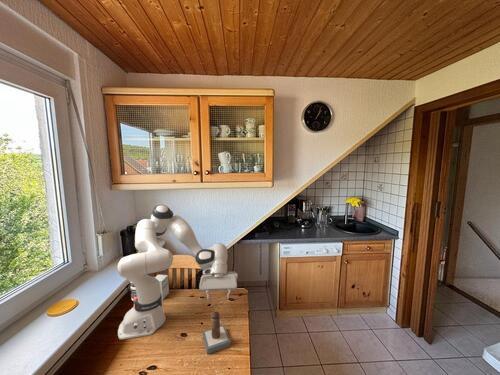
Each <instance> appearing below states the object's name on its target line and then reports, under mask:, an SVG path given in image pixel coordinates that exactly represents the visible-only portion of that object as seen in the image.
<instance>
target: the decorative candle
mask: <svg viewBox="0 0 500 375" xmlns="http://www.w3.org/2000/svg"><path fill="white" fill-rule="evenodd" d="M129 282H130V298H131V299H130V300H131V301H133V299H134V297H137V292H136V288H135V286H134V284H133V283H132V282H131V281H130V280H129Z"/></svg>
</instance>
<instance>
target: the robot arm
mask: <svg viewBox="0 0 500 375" xmlns="http://www.w3.org/2000/svg"><path fill="white" fill-rule="evenodd" d="M167 230H169V231H170V232H171V233H172V235H173V236H174V237H175V239H177V240H178V241H179V242H180V243H181V244H182V245H184V246H185V247H186V248H187V249H189V251H191V253H192V254H193V255H194V257H195V262H196V263H197V265H198V267H199V268H200V269H201V271H202V275H201V277H200V280H199V285H198V286H199V287H198V288H199V291H200V292H205V293H206V298H207V301H210V300H211V295H209V294H210V293H209V292H211V291H227V294H225V296H224V297H225V300H229V296H230V295H231V292H232V291H233V290H237V289H238V282H237V280H238V277H239V275H238V272H236V271H228V265H227V262H228V248H227V246H226V245H225V244H223V243H221V242H219V243H214V244H213V245H212V246H210V247H207V248H203V247H202V246H201V245H200V243H199V241H198V239H197V237H196V235H195V232H194V230H193V228H192V227H191V225H190V224H189V223H188V222H187V221H186V220H185V219H184V218H183V217H182V216H180V215H177V214H176V215H174V212H173V211H172V209H171V208H170V207H169V206H167V205H165V204H158V205H155V206H154V207H153V209H152V211H151V215H150V219H149V218H143V219H141V220H139V221H138V222H137V224H136V227H135V234H134V247H135V249H136V250H137V251H138V252H137V253H132V254H130V255H126V256H123V257H121V258H120V260H119V261H118V263H117V268H116V270H117V273H118V275H119V276H120V277H121V278H124V279H127V280H128V281H129V282H130V281H131V282H132V283H133V284H134V286H135V288H136V292H137V297H134V299H133V307H131V309H129V310H128V311H127V312H126V313H125V315H124V316H123V320H122V321H121V322H120V324H119V326H118V329H117V336H118V339H119V340H127V339H133V338H139V337H145V336H151V335H153V334H154V333H155V332H156V330H158V329H159V328H161V326H163V325H164V323H165V322H166V321H167V320H166V319H167V317H166V315H165V312H164V308H163V300H162V295H161V292H160V282H159V280H158V279H156V278H155V277H156V276H150V275H149V274H154V273H159V272H162V271H165V270H167V269H169V268H171V267H172V264H173V263H174V256H173V253H172V252H171V251H170V250H169V249H166V248H164V247H162V246H161V245H160V244H159V243H158V237H161V236H163V235H164V234H165V233H166V231H167Z"/></svg>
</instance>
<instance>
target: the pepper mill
mask: <svg viewBox="0 0 500 375" xmlns="http://www.w3.org/2000/svg"><path fill="white" fill-rule="evenodd" d="M220 317H221V316H220V313H219V311H213V312H212V313H211V316H210V323H211V324H210V326H211V328H210V329H211V331H212V338H213V339H218V338H219V337H220V326H221V321H220Z"/></svg>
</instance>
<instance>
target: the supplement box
mask: <svg viewBox="0 0 500 375" xmlns="http://www.w3.org/2000/svg"><path fill="white" fill-rule="evenodd" d="M154 277H155V278H156V279H158V280H159V282H160V292H161V295H162V301H163V300H164V299H165V298H167V296H168V295H169V294H170V287H169V275H168V274H157V275H156V276H154Z"/></svg>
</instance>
